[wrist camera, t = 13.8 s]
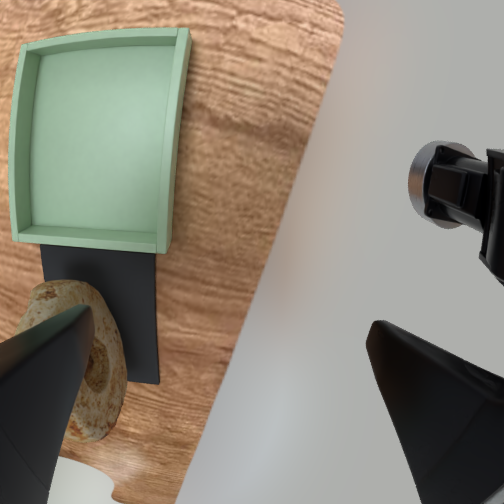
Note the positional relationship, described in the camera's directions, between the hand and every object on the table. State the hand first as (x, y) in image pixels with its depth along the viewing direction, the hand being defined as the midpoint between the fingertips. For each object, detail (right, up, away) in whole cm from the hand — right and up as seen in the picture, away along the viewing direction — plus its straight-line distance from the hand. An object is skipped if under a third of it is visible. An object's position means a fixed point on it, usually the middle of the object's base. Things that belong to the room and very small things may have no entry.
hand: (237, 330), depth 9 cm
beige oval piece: (-11, -3, +12) cm, 17 cm away
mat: (-11, -3, +13) cm, 17 cm away
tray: (-10, +10, +8) cm, 16 cm away
